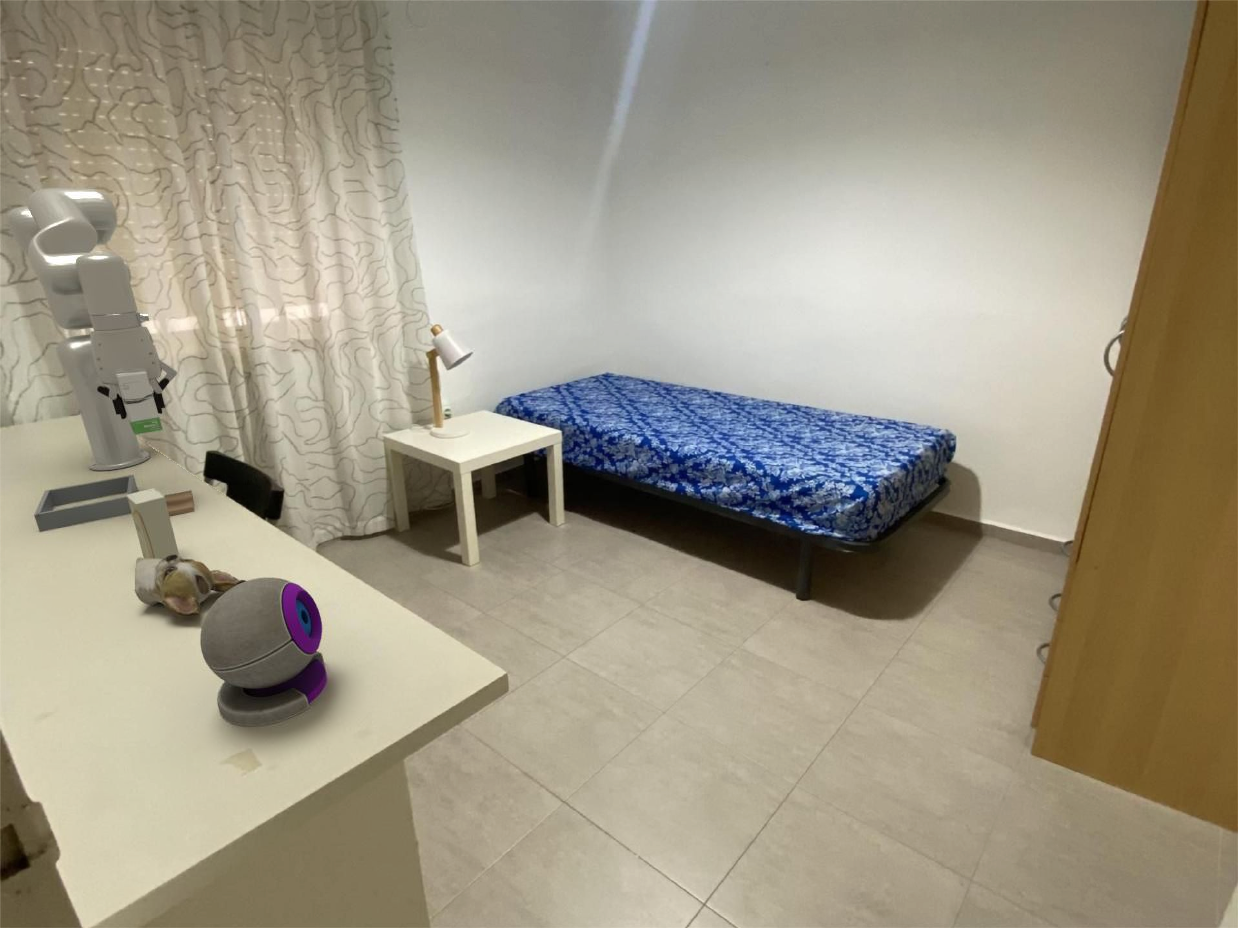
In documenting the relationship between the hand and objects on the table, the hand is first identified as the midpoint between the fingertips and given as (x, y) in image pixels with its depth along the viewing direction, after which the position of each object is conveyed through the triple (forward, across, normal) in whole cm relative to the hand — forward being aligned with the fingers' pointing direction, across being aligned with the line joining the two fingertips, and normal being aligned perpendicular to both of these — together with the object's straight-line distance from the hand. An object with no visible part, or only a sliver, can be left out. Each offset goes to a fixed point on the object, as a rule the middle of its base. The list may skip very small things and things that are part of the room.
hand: (142, 414), depth 135 cm
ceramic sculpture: (+21, -2, +47) cm, 51 cm away
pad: (+20, 0, 0) cm, 20 cm away
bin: (+20, +14, -9) cm, 26 cm away
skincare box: (+20, +1, +27) cm, 34 cm away
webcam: (+20, -11, +78) cm, 81 cm away
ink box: (+3, 0, 0) cm, 3 cm away
